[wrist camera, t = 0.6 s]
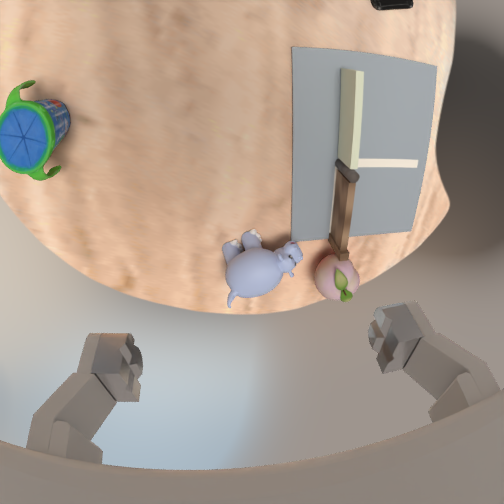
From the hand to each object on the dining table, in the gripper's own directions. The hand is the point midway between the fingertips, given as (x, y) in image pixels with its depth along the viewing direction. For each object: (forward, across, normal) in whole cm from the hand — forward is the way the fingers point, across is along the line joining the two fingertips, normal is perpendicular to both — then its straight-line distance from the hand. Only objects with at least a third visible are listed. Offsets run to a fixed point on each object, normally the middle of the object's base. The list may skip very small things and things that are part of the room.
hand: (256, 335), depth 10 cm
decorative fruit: (+40, -18, +31) cm, 54 cm away
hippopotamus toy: (+40, -4, +27) cm, 49 cm away
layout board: (+40, -23, +8) cm, 47 cm away
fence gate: (+40, -18, +1) cm, 44 cm away
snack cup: (+40, +28, -3) cm, 49 cm away
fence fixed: (+40, -18, +17) cm, 47 cm away
